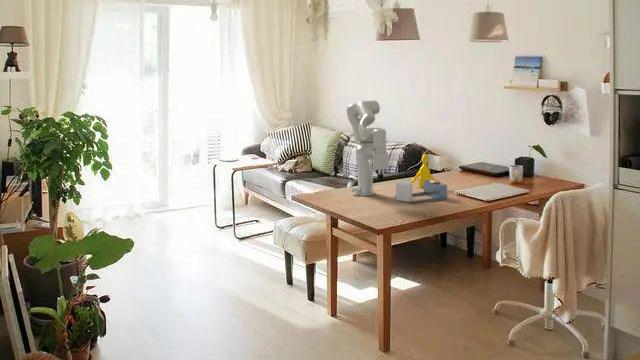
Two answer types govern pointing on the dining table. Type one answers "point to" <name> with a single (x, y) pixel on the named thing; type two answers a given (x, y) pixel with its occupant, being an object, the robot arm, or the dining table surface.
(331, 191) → the dining table surface
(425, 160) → the figure statuette
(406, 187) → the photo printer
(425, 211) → the dining table surface
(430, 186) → the motor mount
